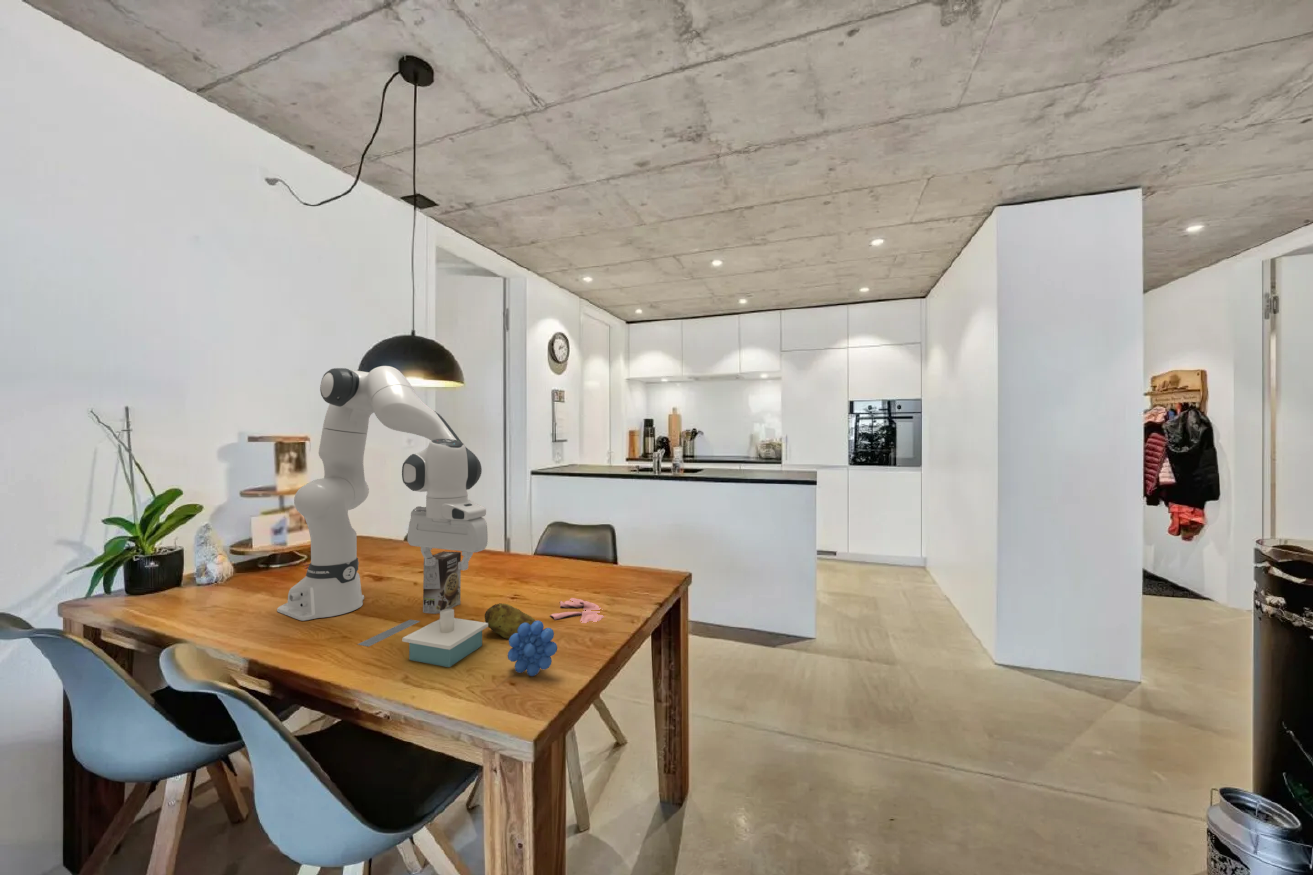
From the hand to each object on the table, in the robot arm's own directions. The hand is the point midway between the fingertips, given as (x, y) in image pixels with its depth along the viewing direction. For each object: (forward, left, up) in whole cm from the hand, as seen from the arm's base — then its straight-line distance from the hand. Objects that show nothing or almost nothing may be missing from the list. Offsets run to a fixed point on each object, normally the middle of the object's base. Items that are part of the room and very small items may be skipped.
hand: (446, 567), depth 108 cm
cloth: (+15, +34, -22) cm, 43 cm away
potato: (+8, +13, -21) cm, 26 cm away
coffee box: (-22, +23, -21) cm, 38 cm away
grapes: (+24, -1, -21) cm, 32 cm away
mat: (-16, +5, -21) cm, 27 cm away
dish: (0, 0, -21) cm, 21 cm away
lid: (0, 0, -16) cm, 16 cm away
